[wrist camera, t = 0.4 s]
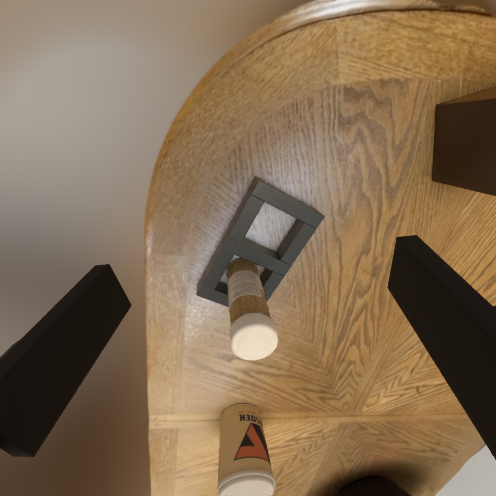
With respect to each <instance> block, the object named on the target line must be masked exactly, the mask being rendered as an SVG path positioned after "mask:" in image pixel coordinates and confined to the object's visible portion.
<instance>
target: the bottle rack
mask: <svg viewBox="0 0 496 496" xmlns="http://www.w3.org/2000/svg"><path fill="white" fill-rule="evenodd" d="M264 201H265V202H267V203H268V204H270V205H272V206H274V207H276V208H278V209H280V210H282V211H284V212H286V213H287V214H289V215H291V216H293V217H295V218H297V221H296V222H295V224H294V225H293V227H292V228H291V230H290V232H289V233H288V235H287V236H286V238H285V239H284V241H283V243H282V244H281V246H280V247H279V249H278V250H277V252H274V251H272V250H270V249H268V248H266V247H264V246H261V245H259V244H257V243H255V242H253V241H251V240H248V239H246V238H244V236H245V235H246V233H247V231H248V229H249V228H250V226H251V224H252V222H253V221H254V219H255V217H256V215H257V214H258V212H259V210H260V208H261V207H262V205H263V203H264ZM324 217H325V216H324V215H322V214H321V213H320V212H319V211H317V210H316V209H314V208H312V207H310V206H308V205H307V204H305V203H303V202H301V201H299V200H298V199H296V198H294V197H292V196H290V195H289V194H287V193H285V192H283V191H281V190H279V189H278V188H276V187H274V186H272V185H270V184H269V183H267V182H265V181H263V180H261V179H260V178H258V177H255V179H254V181H253V183H252V184H251V186H250V188H249V190H248V192H247V194H246V196H245V197H244V199H243V201H242V203H241V205H240V207H239V209H238V210H237V212H236V214H235V216H234V218H233V220H232V222H231V223H230V225H229V227H228V229H227V231H226V233H225V235H224V236H223V238H222V240H221V242H220V244H219V246H218V248H217V249H216V251H215V253H214V255H213V257H212V259H211V261H210V263H209V264H208V266H207V268H206V270H205V272H204V274H203V276H202V277H201V279H200V281H199V283H198V285H197V293H196V295H197V296H200V297H202V298H205V299H208V300H211V301H214V302H216V303H219V304H222V305H225V306H228V307H229V300H228V285H227V284H224V283H222V282H219V280H220V279H221V277H222V275H223V273H224V272H225V270H226V268H227V266H228V265H229V263H230V261H231V259H232V258H233V256H234V255H237V256H239V257H241V258H244V259H246V260H248V261H251V262H253V263H255V264H257V265H260V266H262V267H264V268H266V269H265V271H264V272H263V274H262V275H261V277H260V280H261V283H262V287H263V290H264V295H265V299H266V302H267V301H268V299H269V298H270V296H271V295H272V293H273V292H274V290H275V289H276V288H277V286H278V285H279V283H280V282H281V280H282V279H283V277H284V276H285V274H286V273H287V271H288V270H289V268H290V267H291V265H292V264H293V262H294V261H295V260H296V258H297V257H298V255H299V254H300V252H301V251H302V249H303V248H304V246H305V245H306V243H307V242H308V240H309V239H310V237H311V236H312V234H313V233H314V232H315V230H316V228H317V227H318V226H319V224H320V223H321V221H322V220H323V218H324Z"/></svg>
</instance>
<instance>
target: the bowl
mask: <svg viewBox="0 0 496 496" xmlns="http://www.w3.org/2000/svg"><path fill="white" fill-rule="evenodd" d="M338 496H411V495H409V494H408V493H407V492H406V491H405V490H403V489H402V488H401V487H400V486H399V485H397V484H396V483H395V482H393V481H391V480H389V479H386V478H368V479H364V480H360V481H358V482H355V483H353V484H351V485H349V486H348V487H346V488H345V489H344V490H342V491H341V492H340V494H339V495H338Z"/></svg>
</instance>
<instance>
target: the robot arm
mask: <svg viewBox="0 0 496 496" xmlns="http://www.w3.org/2000/svg"><path fill="white" fill-rule="evenodd" d="M388 289H389V291H390V292H391V294H392V296H393V297H394V299H395V300H396V302H397V303H398V305H399V307H400V308H401V310H402V311H403V313H404V315H405V316H406V318H407V319H408V321H409V323H410V324H411V326H412V327H413V329H414V331H415V332H416V334H417V335H418V337H419V338H420V340H421V342H422V343H423V345H424V346H425V348H426V350H427V351H428V353H429V354H430V356H431V358H432V359H433V361H434V362H435V364H436V366H437V367H438V369H439V370H440V372H441V374H442V375H443V377H444V378H445V380H446V381H447V383H448V385H449V386H450V388H451V389H452V391H453V393H454V394H455V396H456V397H457V399H458V401H459V402H460V404H461V405H462V407H463V409H464V410H465V412H466V413H467V415H468V416H469V418H470V420H471V421H472V423H473V424H474V426H475V428H476V429H477V431H478V432H479V434H480V436H481V437H482V439H483V440H484V442H485V444H486V445H487V447H488V448H489V450H490V451H491V453H492V455H493V456H494V458H495V459H496V306H492V305H491V304H490V303H489V302H488V301H487V300H486V299H484V298H483V297H482V296H481V295H480V294H479V293H478V292H477V291H476V290H475V289H474V288H473V287H472V286H471V285H469V284H468V283H467V282H466V281H465V280H464V279H463V278H462V277H461V276H460V275H459V274H458V273H457V272H456V271H454V270H453V269H452V268H451V267H450V266H449V265H448V264H447V263H446V262H445V261H444V260H443V259H442V258H440V257H439V256H438V255H437V254H436V253H435V252H434V251H433V250H432V249H431V248H430V247H429V246H428V245H427V244H425V243H424V242H423V241H422V240H421V239H420V238H419V237H418V236H417V235H413V236H403V237H397V238H396V244H395V249H394V255H393V260H392V266H391V271H390V277H389V282H388ZM130 307H131V303H130V301H129V300H128V298H127V296H126V294H125V292H124V290H123V288H122V287H121V285H120V283H119V281H118V279H117V277H116V275H115V274H114V272H113V270H112V268H111V266H110V265H109V264H106V265H96V266H94V267H93V268H92V269H91V270H90V271H89V272H88V273H87V274H86V275H85V276H84V277H83V278H82V279H81V280H80V281H79V282H78V283H77V284H76V285H75V286H74V287H73V288H72V289H71V290H70V291H69V292H68V293H67V294H66V295H65V296H64V297H63V298H62V299H61V300H60V301H59V302H58V303H57V304H56V305H55V306H54V307H53V308H52V309H51V310H50V311H49V312H48V313H47V314H46V315H45V316H44V317H43V318H42V319H41V320H40V321H39V322H38V323H37V324H36V325H35V326H34V327H33V328H32V329H31V330H30V331H29V332H28V333H27V334H26V335H25V336H24V337H23V338H22V339H20V340H19V341H17V342H16V343H15V344H14V345H12V346H11V347H10V348H9V349H8V350H7V351H6V352H5V353H4V354H3V355H2V356H1V357H0V448H1V449H2V450H4V451H6V452H7V453H9V454H10V455H12V456H16V457H17V456H18V457H34V456H35V454H36V453H37V451H38V450H39V448H40V447H41V445H42V444H43V442H44V440H45V439H46V437H47V436H48V434H49V433H50V431H51V430H52V428H53V427H54V425H55V423H56V422H57V420H58V419H59V417H60V416H61V414H62V413H63V411H64V409H65V408H66V406H67V405H68V403H69V402H70V400H71V399H72V397H73V395H74V394H75V392H76V391H77V389H78V388H79V386H80V385H81V383H82V382H83V380H84V378H85V377H86V375H87V374H88V372H89V371H90V369H91V368H92V366H93V364H94V363H95V361H96V360H97V358H98V357H99V355H100V354H101V352H102V350H103V349H104V347H105V346H106V344H107V343H108V341H109V340H110V338H111V337H112V335H113V333H114V332H115V330H116V329H117V327H118V326H119V324H120V322H121V321H122V319H123V318H124V316H125V315H126V313H127V312H128V310H129V309H130Z"/></svg>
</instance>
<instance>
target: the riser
mask: <svg viewBox="0 0 496 496" xmlns="http://www.w3.org/2000/svg"><path fill="white" fill-rule="evenodd" d="M432 181H434V182H439V183H443V184H447V185H451V186H456V187H460V188H464V189H468V190H472V191H477V192H481V193H485V194H489V195H494V196H496V86H494V87H491V88H488V89H485V90H481V91H478V92H475V93H472V94H469V95H466V96H463V97H460V98H457V99H453V100H450V101H447V102H444V103H441V104H438V105H436V118H435V137H434V155H433V173H432Z"/></svg>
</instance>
